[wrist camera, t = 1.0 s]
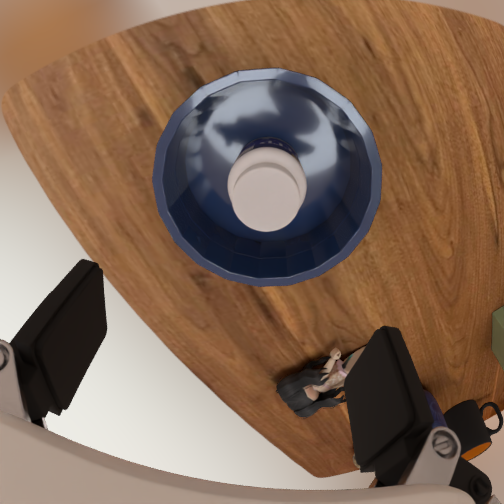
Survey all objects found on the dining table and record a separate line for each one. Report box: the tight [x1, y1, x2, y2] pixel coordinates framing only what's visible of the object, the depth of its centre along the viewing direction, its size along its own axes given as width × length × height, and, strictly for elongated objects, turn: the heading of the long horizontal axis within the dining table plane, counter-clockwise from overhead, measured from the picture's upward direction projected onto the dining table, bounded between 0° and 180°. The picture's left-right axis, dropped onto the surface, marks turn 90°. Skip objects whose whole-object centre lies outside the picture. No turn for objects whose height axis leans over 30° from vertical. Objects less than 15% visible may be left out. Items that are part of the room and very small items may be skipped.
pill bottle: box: [228, 137, 307, 232], centre depth 22 cm, size 5×5×9 cm
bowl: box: [152, 68, 382, 287], centre depth 23 cm, size 16×16×6 cm
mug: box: [443, 400, 503, 461], centre depth 39 cm, size 8×12×10 cm
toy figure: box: [276, 346, 366, 419], centre depth 35 cm, size 7×6×15 cm
